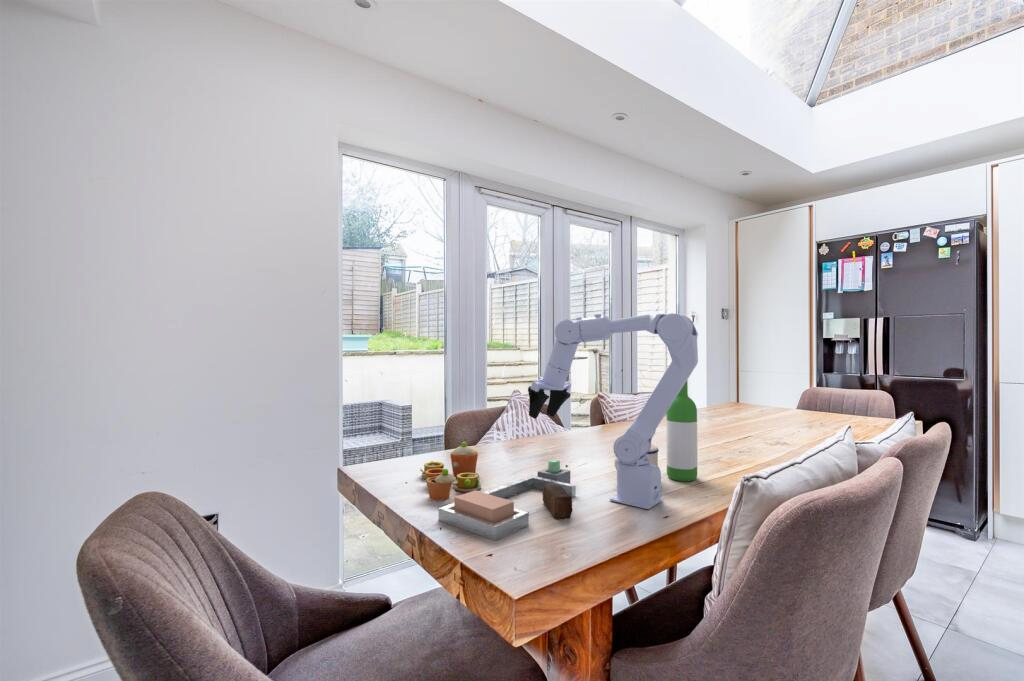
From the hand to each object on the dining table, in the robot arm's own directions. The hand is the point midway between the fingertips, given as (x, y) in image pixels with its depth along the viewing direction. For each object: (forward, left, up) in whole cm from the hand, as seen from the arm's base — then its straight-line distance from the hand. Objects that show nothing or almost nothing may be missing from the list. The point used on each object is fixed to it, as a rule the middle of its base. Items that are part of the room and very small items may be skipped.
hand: (541, 416), depth 122 cm
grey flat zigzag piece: (-6, +17, -18) cm, 25 cm away
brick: (-13, +12, -18) cm, 25 cm away
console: (-2, -2, -18) cm, 18 cm away
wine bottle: (-25, -29, -18) cm, 42 cm away
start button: (-2, -2, -16) cm, 16 cm away
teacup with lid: (-17, -18, -18) cm, 31 cm away
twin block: (-6, +28, -18) cm, 34 cm away
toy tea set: (+18, +14, -18) cm, 29 cm away
